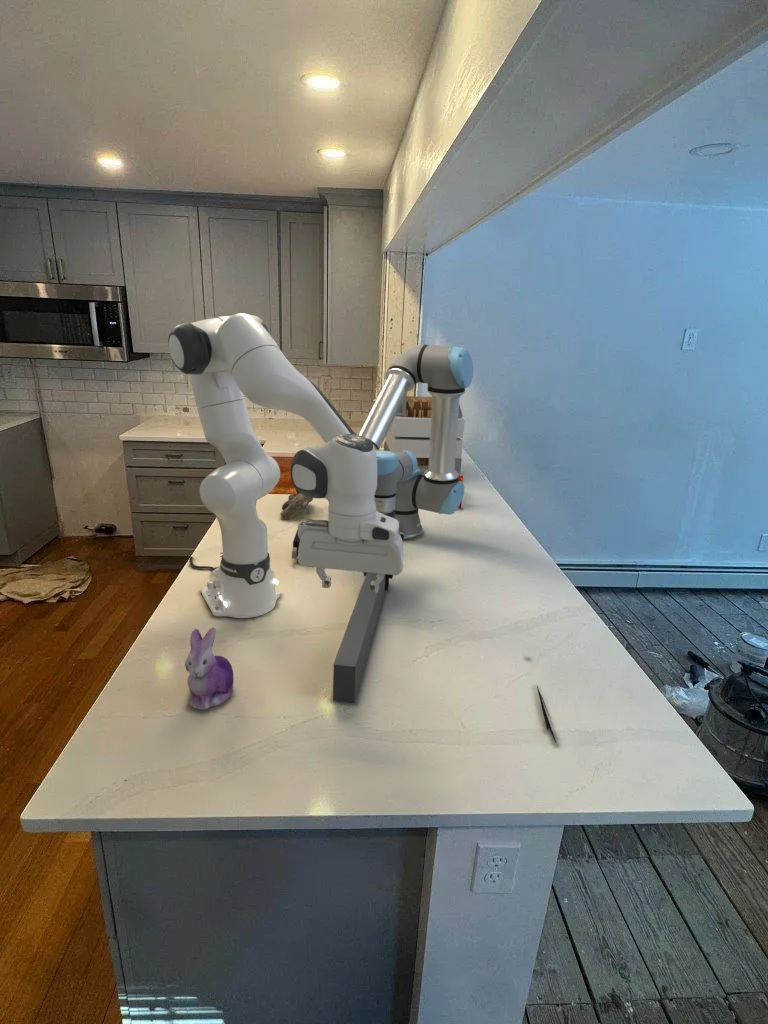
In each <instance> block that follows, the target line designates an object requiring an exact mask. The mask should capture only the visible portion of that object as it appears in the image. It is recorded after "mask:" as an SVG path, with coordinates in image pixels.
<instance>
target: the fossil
mask: <svg viewBox="0 0 768 1024" xmlns="http://www.w3.org/2000/svg"><path fill="white" fill-rule="evenodd" d="M295 492H296V493H291V494H289V495H288V500H286V501H285V502H283V504H282V506H281V510H282V511H281V512H280V518H281V519H282V520H289V519H292V518H294V517H296V516H297V515H298V514H300V512H302V511H303V510H304V509H305V510H306V511H307V513H309V512H310V510H309V509H308V507H307V506H308V505H309V504H310V503H311V502H312V501H313V500H314V498H309V497H306V496H304V495H302V494H301V493H299V492H298V491H297V490H296V489H295Z"/></svg>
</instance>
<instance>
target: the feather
mask: <svg viewBox="0 0 768 1024" xmlns="http://www.w3.org/2000/svg"><path fill="white" fill-rule="evenodd" d="M527 659H529V657H527ZM536 688H537V692H538V697H539V703H540V706H541V711H542V715H543V719H544V722H545V727H546V731H549V732H550V734H551V737H552V738H553V740H554V742H555V743H557V740H556V738H555V735H554V732H553V729H555V728H556V727H555V725H553V726H551V724H553V720H552V718H551V714H550V713H549V711H548V708H547V705H546V703H545V701H544V698H543V696H542V694H541V691H540V689H539V687H538V686H536ZM550 722H551V723H550ZM552 727H553V729H552Z"/></svg>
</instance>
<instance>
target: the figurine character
mask: <svg viewBox="0 0 768 1024" xmlns="http://www.w3.org/2000/svg"><path fill="white" fill-rule="evenodd" d="M299 543H300V539H299V537H298V528H297V530H296V532H295V535H294V538H293V541H292V551H291V559H294V560H296V563H297V564H300V563H299V562H298V549H299Z"/></svg>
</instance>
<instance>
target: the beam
mask: <svg viewBox="0 0 768 1024" xmlns="http://www.w3.org/2000/svg"><path fill="white" fill-rule="evenodd" d="M376 580H377V577H376V573H368V572H367V574H366V576H364V579H363V582H362V585H361V587H360V591H359V593H358V597H357V599H356V601H355V603H354V607H353V610H352V612H351V615H350V619H349V621H348V623H347V626H346V629H345V632H344V635H343V637H342V639H341V643H340V646H339V648H338V651H337V655H336V657H335V659H334V661H333V668H332V669H333V674H332V675H333V678H332V680H333V681H332V682H333V683H332V700H333V701H337V702H345V703H351V704H352V703H354V704H355V702H356V699H357V696H358V692H359V688H360V684H361V680H362V677H363V673H364V671H365V670H364V669H365V666H366V663H367V659H368V655H369V651H370V647H371V644H372V640H373V637H374V633H375V630H376V626H377V622H378V619H379V614H380V611H381V608H382V604H383V601H384V597H385V593H386V590H385V580H386V574H385V575H384V579H383V580H382V581H381V583H380V584H379V589H378V593H371V592H370V584H371V581H376Z"/></svg>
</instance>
